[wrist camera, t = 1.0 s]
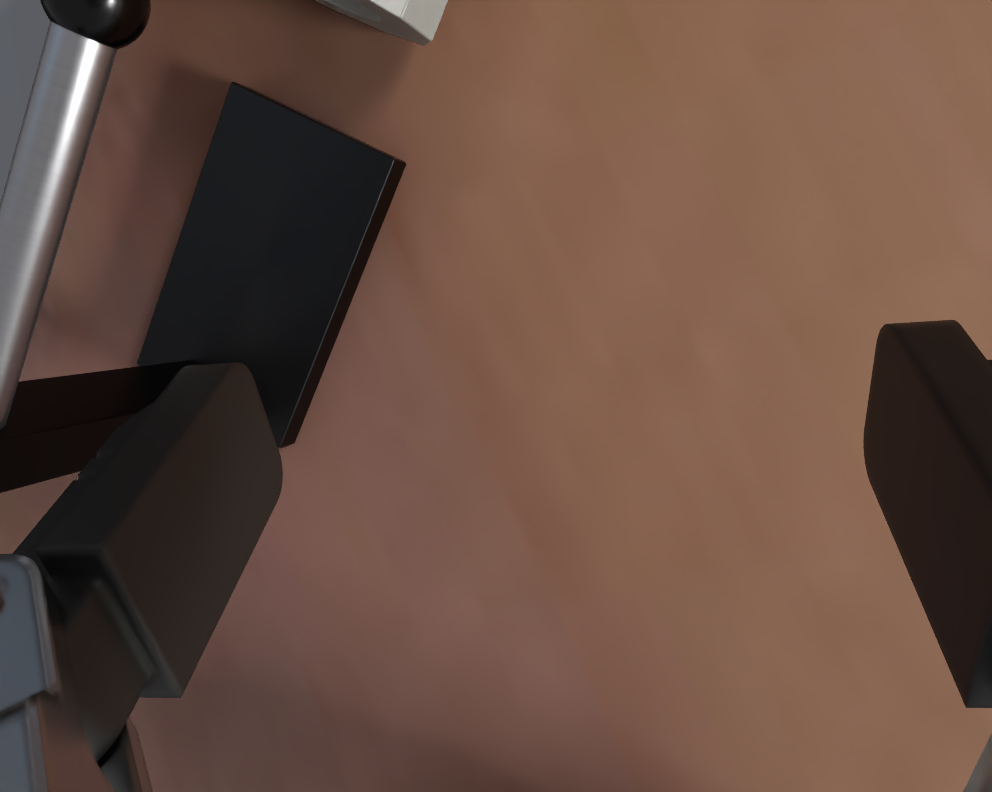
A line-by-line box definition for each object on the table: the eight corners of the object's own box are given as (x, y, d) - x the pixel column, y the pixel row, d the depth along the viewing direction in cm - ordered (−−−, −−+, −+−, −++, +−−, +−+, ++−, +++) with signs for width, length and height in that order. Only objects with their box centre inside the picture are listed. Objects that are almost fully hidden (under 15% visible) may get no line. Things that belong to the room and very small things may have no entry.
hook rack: (266, 33, 34) (-130, -171, 19) (429, 107, 32) (137, -53, 17) (151, 371, 38) (-254, 426, 23) (290, 453, 36) (-47, 573, 21)
